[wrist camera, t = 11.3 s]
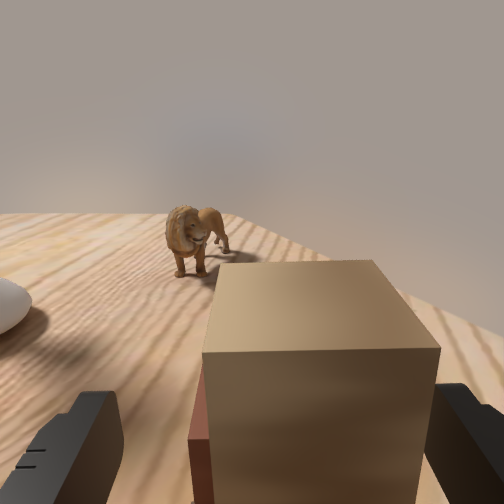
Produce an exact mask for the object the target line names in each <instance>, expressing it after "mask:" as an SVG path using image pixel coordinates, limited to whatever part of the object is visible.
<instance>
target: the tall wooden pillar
mask: <svg viewBox="0 0 504 504" xmlns="http://www.w3.org/2000/svg"><path fill="white" fill-rule="evenodd" d="M440 352H441V346H440V345H439V344H438V343H437V341H436V340H435V339H434V338H433V336H432V335H431V334H430V332H429V331H428V330H427V329H426V327H425V326H424V325H423V324H422V322H421V321H420V320H419V319H418V317H417V316H416V315H415V314H414V312H413V311H412V310H411V308H410V307H409V306H408V305H407V303H406V302H405V301H404V300H403V298H402V297H401V296H400V295H399V293H398V292H397V291H396V289H395V288H394V287H393V286H392V285H391V283H390V282H389V281H388V279H387V278H386V277H385V276H384V274H383V273H382V272H381V271H380V269H379V268H378V267H377V266H376V264H375V263H374V262H373V260H347V261H346V260H343V261H301V262H259V263H221V264H220V269H219V274H218V278H217V283H216V288H215V293H214V297H213V302H212V307H211V312H210V316H209V321H208V326H207V331H206V335H205V340H204V345H203V350H202V359H203V364H202V369H201V374H200V379H199V384H198V389H197V394H196V399H195V404H194V409H193V414H192V419H191V425H190V430H189V435H188V448H189V457H190V466H191V475H192V485H193V494H194V503H195V504H415V501H416V495H417V490H418V484H419V478H420V472H421V466H422V460H423V454H424V448H425V442H426V436H427V430H428V424H429V418H430V412H431V406H432V400H433V394H434V388H435V382H436V376H437V370H438V364H439V358H440Z"/></svg>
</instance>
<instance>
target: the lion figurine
mask: <svg viewBox="0 0 504 504" xmlns="http://www.w3.org/2000/svg"><path fill="white" fill-rule="evenodd" d="M211 231H213V232H214V233H215V234H216V235H217V238H216V240H215V241H214V243H215V244H219V240H220V239H221V240H222V241H223V248H222V249H221V252H222V253H229V251H230V250H229V244H228V237H227V235H226V234H225V231H224V224H223V220H222V216H221V214H220V213H219V212H218V211H217V210H215V209H213V208H205V209H202V210H200V211H198V210H197V209H195V208H192V207H191V206H187V205H182V206H180V207H177V208H175V209H174V210H172V211H171V212H170V213H169V215H168V219H167V220H166V233H165V234H166V240H167V245H168V248H169V249H171V250H172V252H173V253H174V257H175V260H176V264H177V267H178V271H176V272H175V277H183V276H184V275H185V272H186V271H185V265H184V259H183V258H188V257H191V256H193V255H194V258H196V272H197V276H198V277H205V276H207V272H206V270H205V265H204V257H205V248H206V245H207V243H206V241H207V240H208V238H209V236H210V233H211Z"/></svg>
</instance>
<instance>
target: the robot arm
mask: <svg viewBox="0 0 504 504" xmlns="http://www.w3.org/2000/svg"><path fill="white" fill-rule="evenodd" d="M123 448H124V437H123V431H122V426H121V420H120V415H119V409H118V404H117V398H116V395H115V393H114V391H84V392H81V393H80V394H79V396H78V397H77V399H76V401H75V402H74V404H73V406H72V407H71V409H70V411H69V412H68V413H67V414H57V415H56V416H55V417H54V418H53V419H52V420H50V421H49V422H48V423H47V424H46V425H45V426H43V427H42V428H41V429H40V430H39V431H38V433H37V434H36V436H35V437H34V439H33V440H32V442H31V443H30V445H29V446H28V448H27V449H26V454H23V456H22V457H21V459H20V460H19V462H18V463H17V465H16V466H15V467H16V468H15V470H14V471H12V472H11V474H10V475H9V477H8V478H7V480H6V481H5V483H4V485H3V486H2V488H1V489H0V504H106V502H107V500H108V497H109V494H110V491H111V489H112V486H113V483H114V480H115V478H116V475H117V472H118V469H119V467H120V464H121V460H122V456H123ZM424 453H425V456H426V458H427V460H428V462H429V464H430V466H431V468H432V470H433V472H434V474H435V476H436V478H437V480H438V482H439V484H440V486H441V488H442V490H443V492H444V493H445V495H446V497H447V499H448V501H449V503H450V504H504V415H503V414H502V413H500V412H499V411H498V410H496V409H495V408H493V407H492V406H491V405H489V404H482V405H481V404H480V402H479V401H478V400H477V398H476V397H475V396H474V395H473V393H472V392H471V391H470V390H469V388H468V387H467V386H466V385H465V384H463V383H447V384H435V388H434V394H433V400H432V406H431V412H430V418H429V424H428V430H427V436H426V442H425V448H424Z"/></svg>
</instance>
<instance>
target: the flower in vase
mask: <svg viewBox="0 0 504 504" xmlns="http://www.w3.org/2000/svg"><path fill="white" fill-rule="evenodd" d="M31 304H32V298H31V296H30V295H29V293H28V292H27V291H26V290H25V289H24V288H23V287H21V286H19V285H17V284H15V283H13V282H11V281H9V280H6V279H3V278H1V277H0V334H2V333H4V332H6V331H7V330H9V329H11V328H12V327H14V326H15V325H16V324H18V323H19V322H20V321H21V320H22V319H23V318H24V317H25V316H26V315H27V313H28V311H29V309H30V307H31Z"/></svg>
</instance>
